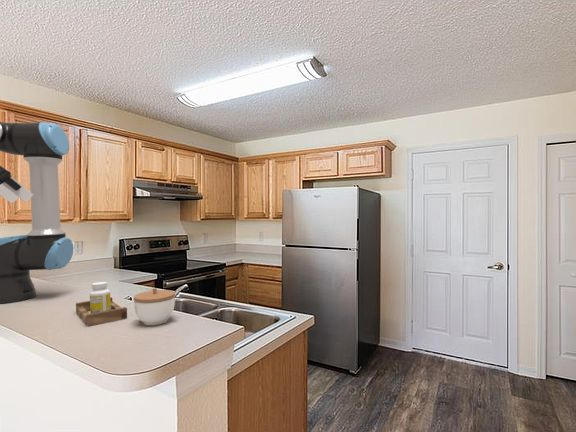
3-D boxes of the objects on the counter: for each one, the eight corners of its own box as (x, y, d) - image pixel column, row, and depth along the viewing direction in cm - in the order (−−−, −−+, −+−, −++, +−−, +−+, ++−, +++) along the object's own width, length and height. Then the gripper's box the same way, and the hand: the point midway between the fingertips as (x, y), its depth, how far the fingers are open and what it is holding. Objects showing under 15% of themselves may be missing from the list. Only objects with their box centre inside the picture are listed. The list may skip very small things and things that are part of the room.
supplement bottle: (106, 311, 105) (105, 280, 104) (114, 314, 101) (113, 282, 101) (87, 316, 100) (86, 283, 100) (94, 319, 97) (93, 285, 97)
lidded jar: (159, 314, 101) (158, 283, 101) (183, 319, 95) (183, 286, 95) (126, 324, 92) (125, 290, 92) (151, 330, 86) (150, 294, 86)
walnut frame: (76, 312, 104) (75, 303, 104) (111, 306, 111) (111, 297, 111) (87, 326, 91) (87, 315, 90) (127, 318, 97) (126, 308, 97)
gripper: (-77, 153, 87) (-1, 209, 99) (-66, 138, 72) (23, 207, 84) (-50, 135, 91) (21, 192, 103) (-33, 118, 76) (47, 187, 88)
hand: (22, 199), depth 94 cm, fingers open, 13 cm apart
